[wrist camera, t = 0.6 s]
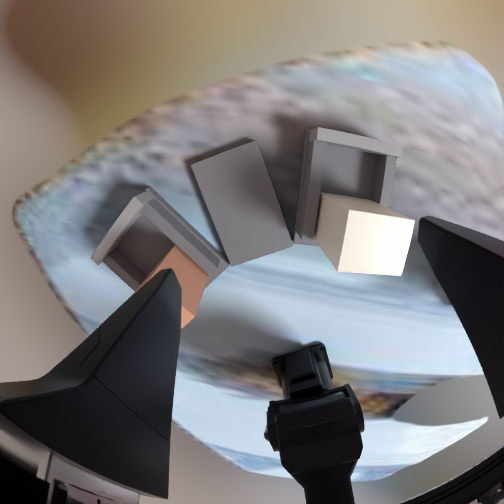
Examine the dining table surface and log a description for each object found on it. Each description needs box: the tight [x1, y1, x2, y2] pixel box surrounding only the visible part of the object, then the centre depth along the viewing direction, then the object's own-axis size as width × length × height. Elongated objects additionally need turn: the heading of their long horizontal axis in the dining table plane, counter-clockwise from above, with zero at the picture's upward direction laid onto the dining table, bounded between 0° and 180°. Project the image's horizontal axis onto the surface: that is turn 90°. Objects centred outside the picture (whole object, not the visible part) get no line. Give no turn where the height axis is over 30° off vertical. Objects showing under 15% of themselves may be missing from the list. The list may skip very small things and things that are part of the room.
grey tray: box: [91, 127, 403, 292], centre depth 24 cm, size 13×30×4 cm, turn 110°
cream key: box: [313, 192, 415, 276], centre depth 20 cm, size 4×5×8 cm
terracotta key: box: [136, 244, 209, 329], centre depth 22 cm, size 4×5×8 cm
